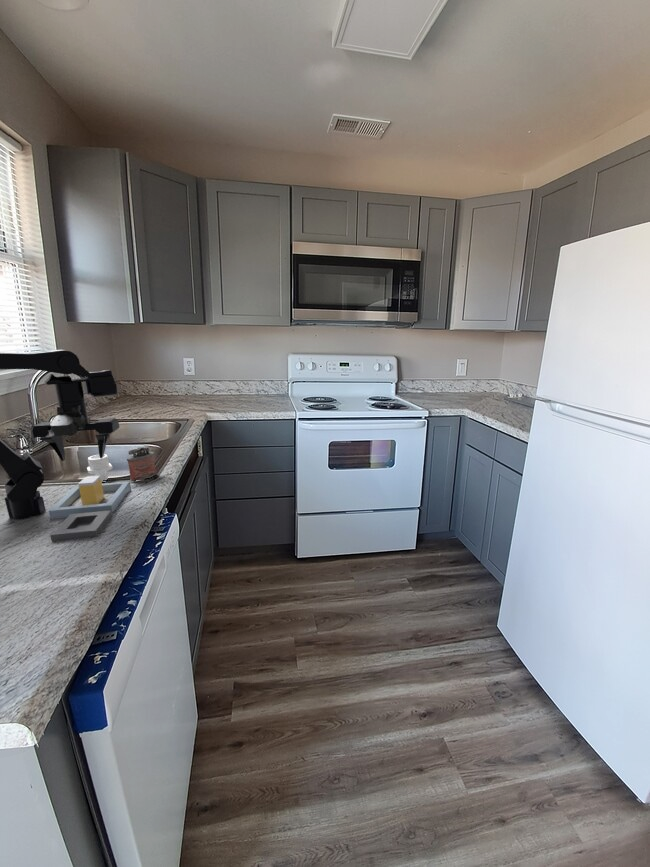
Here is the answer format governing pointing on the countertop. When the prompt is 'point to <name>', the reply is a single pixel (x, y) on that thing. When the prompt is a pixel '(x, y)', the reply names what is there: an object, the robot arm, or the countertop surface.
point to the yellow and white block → (91, 490)
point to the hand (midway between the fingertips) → (82, 459)
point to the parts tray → (108, 488)
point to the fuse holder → (81, 525)
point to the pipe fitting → (99, 466)
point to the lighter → (141, 463)
